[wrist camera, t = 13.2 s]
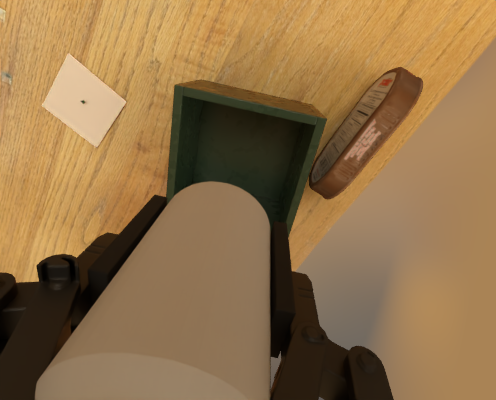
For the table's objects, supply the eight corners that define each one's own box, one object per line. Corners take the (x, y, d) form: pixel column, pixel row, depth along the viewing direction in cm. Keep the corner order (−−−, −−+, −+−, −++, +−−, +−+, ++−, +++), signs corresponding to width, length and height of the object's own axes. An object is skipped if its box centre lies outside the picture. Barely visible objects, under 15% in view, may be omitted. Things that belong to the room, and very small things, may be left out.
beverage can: (245, 160, 15) (181, 401, 4) (285, 250, 17) (308, 550, 7) (148, 197, 16) (-84, 446, 6) (197, 276, 19) (99, 555, 8)
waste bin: (312, 104, 33) (327, 118, 24) (283, 204, 39) (286, 243, 30) (200, 79, 32) (174, 84, 24) (188, 183, 38) (164, 217, 30)
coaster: (41, 105, 35) (37, 106, 34) (68, 52, 32) (63, 52, 31) (96, 148, 37) (93, 149, 36) (126, 101, 34) (123, 102, 33)
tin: (320, 183, 37) (332, 214, 29) (300, 172, 36) (308, 200, 29) (402, 78, 31) (445, 82, 23) (380, 62, 30) (416, 61, 23)
